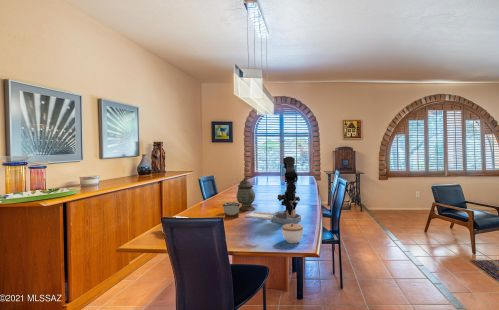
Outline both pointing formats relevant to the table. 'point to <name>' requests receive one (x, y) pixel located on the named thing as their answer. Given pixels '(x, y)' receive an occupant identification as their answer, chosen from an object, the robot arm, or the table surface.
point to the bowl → (288, 220)
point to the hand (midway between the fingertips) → (291, 214)
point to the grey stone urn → (245, 195)
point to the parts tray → (260, 215)
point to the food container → (231, 209)
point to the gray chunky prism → (282, 215)
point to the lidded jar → (292, 232)
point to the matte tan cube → (292, 213)
